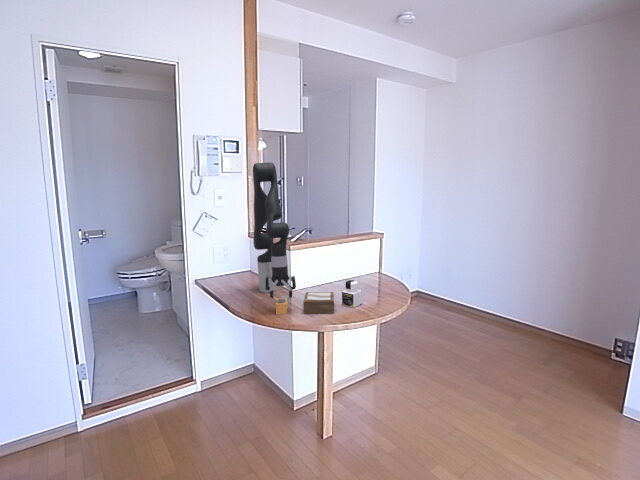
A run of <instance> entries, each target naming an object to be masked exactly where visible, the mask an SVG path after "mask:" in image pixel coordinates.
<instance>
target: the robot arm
mask: <svg viewBox="0 0 640 480" xmlns="http://www.w3.org/2000/svg"><path fill="white" fill-rule="evenodd" d="M277 174H278V173H277V169H276V165H275V163H274V162H258V163H254V164H253V166H252V181H253V221H254V227H253V247H254V249H255V250H258V251H259V250H260V251H261V250H266V251H264V252H263V253H261V254H260V255H258V256H257V276H258V291H259V293H263V294H264V293H265V294H266V293H269V297H270V298H271V299H274V292H275V291H276V287H284V286H285V287H286V288H287V289H288V296H289V298H290V299H291V298H292V297H293V290H296V288H297V285H296V284H297V283H296V277H295V275H292V276H289V269H288V255H287V245H288V244H287V243H288V238H289V233H290V232H289V231H290V227H289V225H288V223H287V222H286V221H285V222H284V221H283V222H282V221H281V222H275V221H278V220H280V219H282V216H283V214H282V213H283V212H282V209H281V204H280V200H279V187H278V186H279V185H278V176H277ZM267 182H268V183H269V182H270V189H269V191H268V193H267V194H266V193H265V191H264V189H263V188H262V185H261V183H267ZM265 225H266V228H265V229H266V230H265V232H262V231H263V229H264V226H265ZM274 239H279V240H278V241H276V242H274ZM289 280H290V281H291V283H292V285H291V284H290V282H289Z"/></svg>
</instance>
